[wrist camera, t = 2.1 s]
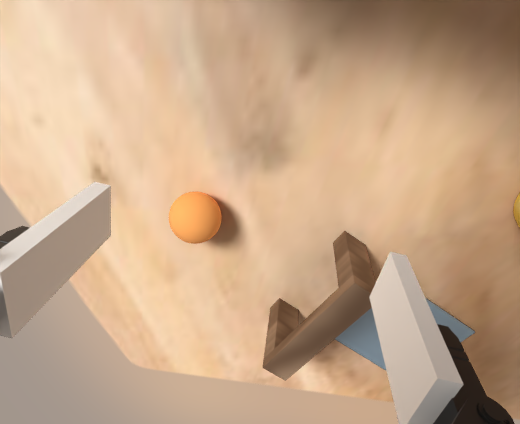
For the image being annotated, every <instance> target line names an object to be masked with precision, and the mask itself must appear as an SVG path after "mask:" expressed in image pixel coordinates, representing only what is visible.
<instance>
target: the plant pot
mask: <svg viewBox="0 0 520 424" xmlns="http://www.w3.org/2000/svg"><path fill="white" fill-rule="evenodd" d="M513 213H514V218H515V220H516V222H517V224H518V226H519V228H520V193H519V195H518V196H517V198H516V200H515V203H514V208H513Z"/></svg>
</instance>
